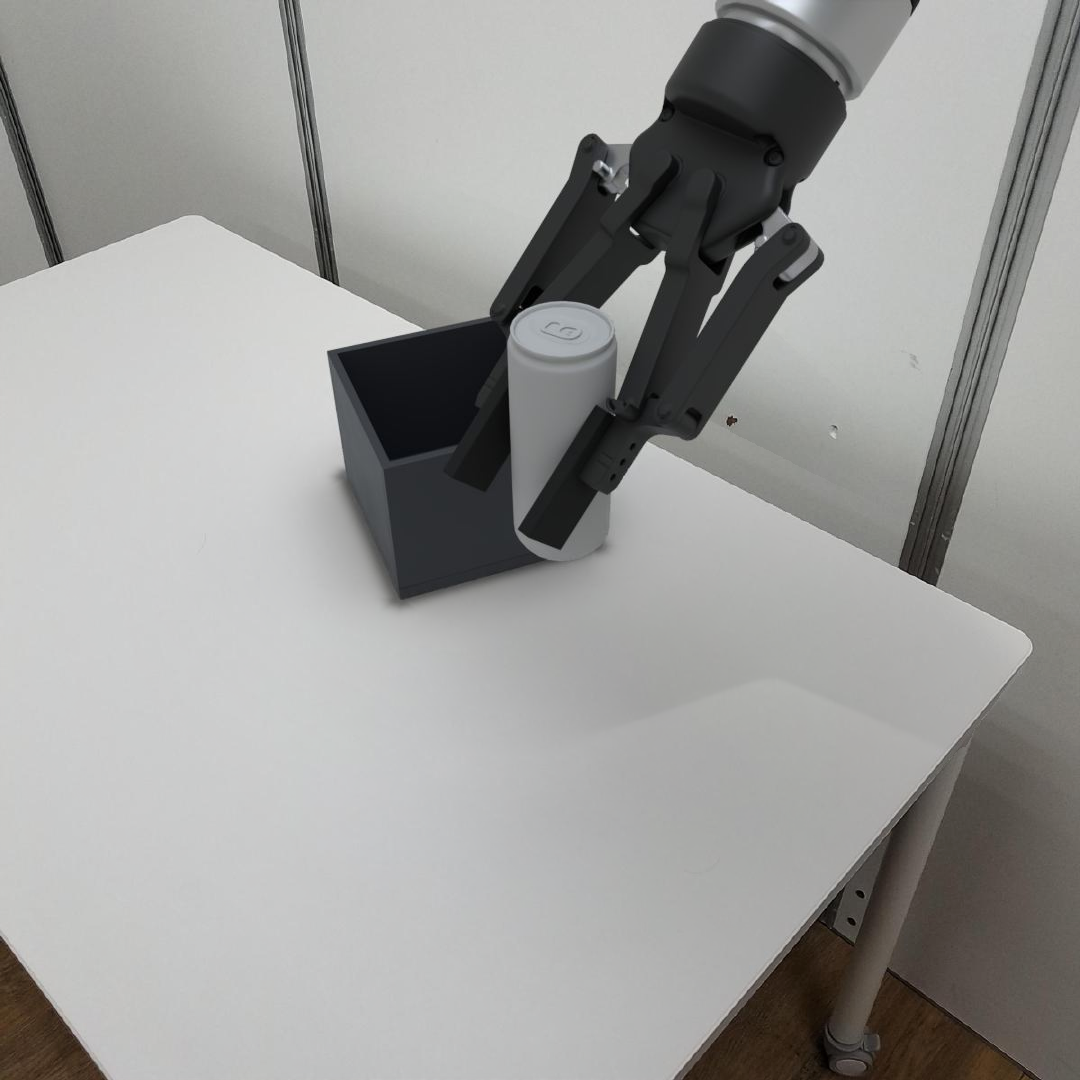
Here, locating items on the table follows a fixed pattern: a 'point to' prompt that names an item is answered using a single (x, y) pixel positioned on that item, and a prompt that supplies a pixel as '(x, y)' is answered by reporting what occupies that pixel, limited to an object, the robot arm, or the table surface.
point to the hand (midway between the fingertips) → (501, 509)
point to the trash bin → (424, 454)
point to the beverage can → (557, 407)
